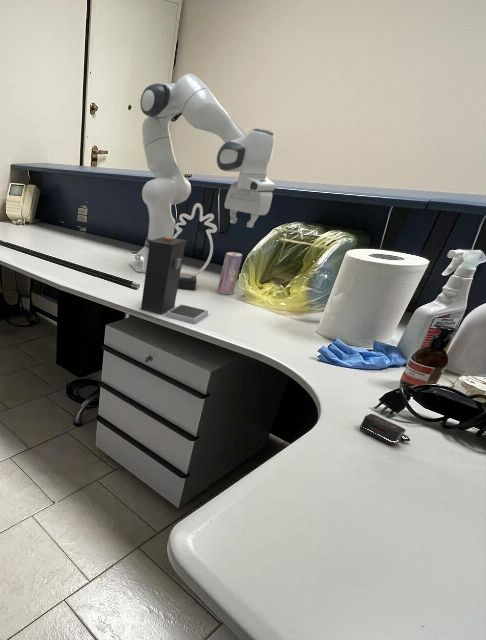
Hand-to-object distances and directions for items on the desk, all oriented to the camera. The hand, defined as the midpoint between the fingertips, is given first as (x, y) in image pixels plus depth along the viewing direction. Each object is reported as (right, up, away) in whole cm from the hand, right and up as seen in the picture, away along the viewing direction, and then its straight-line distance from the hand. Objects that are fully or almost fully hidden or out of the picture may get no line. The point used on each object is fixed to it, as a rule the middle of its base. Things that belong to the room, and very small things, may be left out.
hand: (241, 225), depth 149 cm
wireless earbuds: (-4, -69, -68) cm, 97 cm away
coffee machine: (-27, -33, -8) cm, 44 cm away
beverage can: (0, -22, +13) cm, 26 cm away
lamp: (-15, -18, +19) cm, 30 cm away
